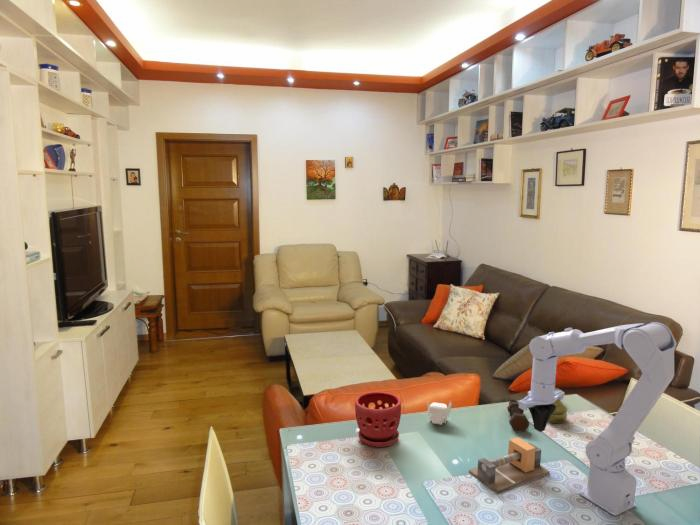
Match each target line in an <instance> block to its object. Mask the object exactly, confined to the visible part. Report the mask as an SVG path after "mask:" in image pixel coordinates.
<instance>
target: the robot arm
mask: <svg viewBox="0 0 700 525" xmlns="http://www.w3.org/2000/svg"><path fill="white" fill-rule="evenodd" d="M610 344H614V345H616V347H617V348H619V349H620V350H623V349H624V351H626V353H627V354H628V355H629V356H630V358H631V360H633V362H634V363H635V364H636V366H637V367H638V368H639V369H640V372H641V376H640V377H639V378H638V380H637V381H636V383H635V385H634V386H633V388H632V389H631V391H630V392H629V393H628V395H627V397H626V398H625V400H624V401H623V403H622V404H621V406H620V408H619V409H618V411H617V412H616V414H615V415H614V416H613V418H612V420H611V421H610V423H609V424H608V426H606V428H604V429H603V431H601V432H600V433H599V434H598V435H597V437H596V438H595V439H593V440H591V441H589V442H588V443H587V444H586V446H585V455H586V457H587V459H588V461H589V469H588V477H587V478H588V480H587V487H585V488H584V489H581V490H578V495H581V497H583V498H585V499H587V500H588V501H590V502H591V503H593V504H595V505H596V506H598V507H600V508H602V509H603V510H605V511H606V512H608V513H609V514H611V515H612V516H618V515H620V514H623V513H625V512H626V511H628V510H630V509H633V508H635V507H637V506H636V505H637V504H636V503H635V499H636V490H637V479H636V477H635V476H634V475H633V474H632V473H630V472H629V471H628V470H627V468H626V458H627V457H629V456H630V455H631V453H632V452H633V442H634V441H635V439H636V437H635V434H636V433H637V431H638V429H639V428H640V427H641V426H642V424H643V422H644V421H645V420H646V418H647V417H648V416H649V414H650V412H651V411H652V409H654V408H655V405H656V404H657V402H658V401H659V399H660V398H661V396H662V395H663V394H664V392H665V391H666V389H667V388H668V386H669V385H670V384H671V382H672V380H673V379H674V377H675V350H676V347H677V344H678V343H677V341H676V339H675V336H674V334H673V332H672V330H671V329H670V327H668V326H667V325H665V324H663V323H662V322H657V321H652V322H649V323H647V324H645V323H644V322H642V323H641V322H639V323H629V324H621V325H616V326H613V327H607V328H603V329H598V330H595V331H589V332H583V331H582V330H580V329H577V328H575V329H573V327H567V328H564V331H559V332H555V331H551V332H550V331H549V332H548V333H547V334H544V335H540V336H535V337H534V338H532V339H531V340H530V342H529V344H528V345H529V346H528V347H529V352H530V354H531V355H532V365H531V366H532V367H531V369H532V370H531V378H530V379H531V381H530V390H529V391H527V395H526V396H525V397H524V398H522V399H520V400H518V402H519V408H520V409H522V410H524V412H525V411H527V410H529V413H530V416H531V419H532V424H533V429H534V430H536V431H537V432H540V433H541V432H545V430H546V427H547V425H548V423H549V422H548V420H549V418H550V416H551V414H552V413H553V412H554V411H555V409H556V406H555V405H554V404H552V403H554V402H555V401H556V400H558V399H559V400H561V401H562V400H564V396H565V395H564V393H565V392H564V391H563V392H564V393H563V392H561V391H559V390H556V391H554V390H555V388H556V376H557V365H558V361H559V360H558V359H559V357H563V356H570V355H577V354H582V353H584V352H585V351H586V349H587V348H588V347H593V346H601V345H602V346H603V345H610Z"/></svg>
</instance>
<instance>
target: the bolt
mask: <svg viewBox="0 0 700 525" xmlns="http://www.w3.org/2000/svg"><path fill="white" fill-rule="evenodd" d="M506 408H507V411H508V413H509V415H510V419H509V420H508V423H509V425H510V427H511V429H512V431H514V432H519V433H521V432H522V433H523V432H526V430H527V429H529V427H530V422H529V420H528V417H527V416H526V414H525V413H524V412H525V411H524V410H522V409H520V408H519V400H515V399H511V400H510V401H509V402H508V405H507V407H506Z"/></svg>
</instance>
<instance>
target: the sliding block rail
mask: <svg viewBox="0 0 700 525" xmlns="http://www.w3.org/2000/svg"><path fill="white" fill-rule="evenodd" d="M528 443H529V444H530V445H532V446H534V447H535V448H536V450H535V462H534V470H531V471H528V472H526V473H525V472H524V471H522V470H521V469H519V468H518V467H516V466H515V465H513V464H512V463H510V462H513V461H516V460H519V459H521V453H520V452H515V453H512V454H509V455H508V454H507V455H504V456H500V457H497V458H495V459H492V460H488V459H487V458H485V457H482V458H479V459H478V460H477V466H476V467H473V468H471V469H468V473H469V474H471V476H474V477H475V478H476V479H477V480H479V482H482V483H483V484H484V485H485V486H487V487H488V488H490V489H491V490H492V491H494V492H495V494H500V493H503V492H505V491H508V490H510V489H513V488H516V487H518V486H521V485H522V484H526V483H528V482H531V481H533V480H536V479H539V478H542V477H544V476H546V475H549V474H550V473H551V472H550V471H549V470H548V469H547V468H546V467H544V466H542V465H541V460H542V458H541V457H542V449H541V448H539V447H537V446H536V445H534V444H532V443H531V442H528Z"/></svg>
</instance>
